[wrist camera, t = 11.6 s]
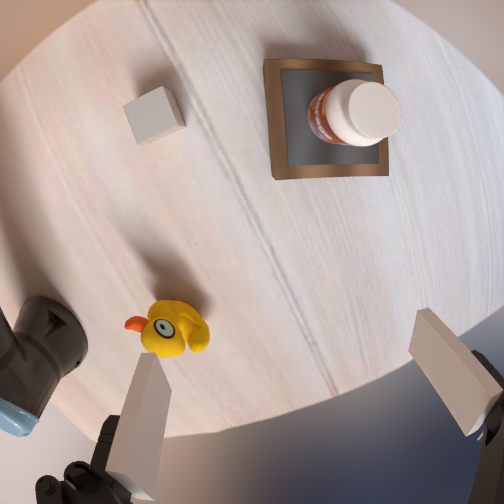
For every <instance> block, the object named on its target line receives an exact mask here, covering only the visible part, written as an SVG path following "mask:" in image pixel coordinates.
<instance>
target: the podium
mask: <svg viewBox="0 0 504 504" xmlns="http://www.w3.org/2000/svg"><path fill="white" fill-rule="evenodd" d="M263 76H264V86H265V97H266V108H267V120H268V132H269V144H270V157H271V170H272V177H273V178H274V179H275V180H286V179H302V178H322V177H350V176H389V151H388V137H386V138H383V139H382V140H381V141H379V142H378V143H376V144H373V145H370V146H352V145H343V144H333V143H329V142H326V141H324V140H322V139H320V138H319V137H318V136H317V135H316V134H315V133H314V132H313V130H312V129H311V127H310V125H309V122H308V115H307V114H308V108H309V105H310V103H311V101H312V100H313V98H314V97H315V96H317V95H318V94H319V93H321V92H323V91H325V90H327V89H329V88H331V87H333V86H335V85H337V84H339V83H342V82H344V81H347V80H352V79H359V80H364V81H367V82H377V83H380V84H382V85H384V79H383V71H382V65H378V64H370V63H361V62H351V61H339V60H322V59H265V62H264V65H263Z"/></svg>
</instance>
